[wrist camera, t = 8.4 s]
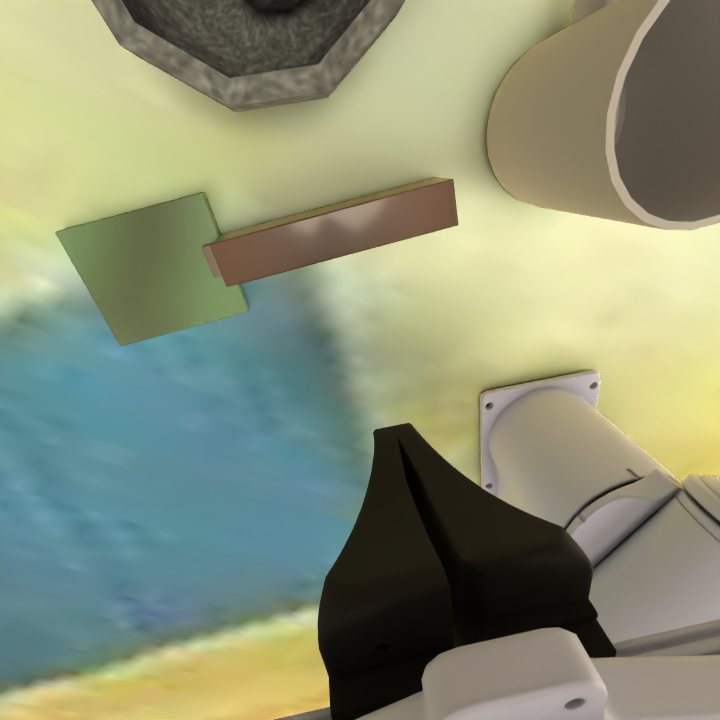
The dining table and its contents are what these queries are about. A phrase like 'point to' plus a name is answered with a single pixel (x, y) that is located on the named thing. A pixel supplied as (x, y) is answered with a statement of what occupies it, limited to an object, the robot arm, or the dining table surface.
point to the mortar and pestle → (251, 44)
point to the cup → (617, 115)
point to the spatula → (230, 253)
